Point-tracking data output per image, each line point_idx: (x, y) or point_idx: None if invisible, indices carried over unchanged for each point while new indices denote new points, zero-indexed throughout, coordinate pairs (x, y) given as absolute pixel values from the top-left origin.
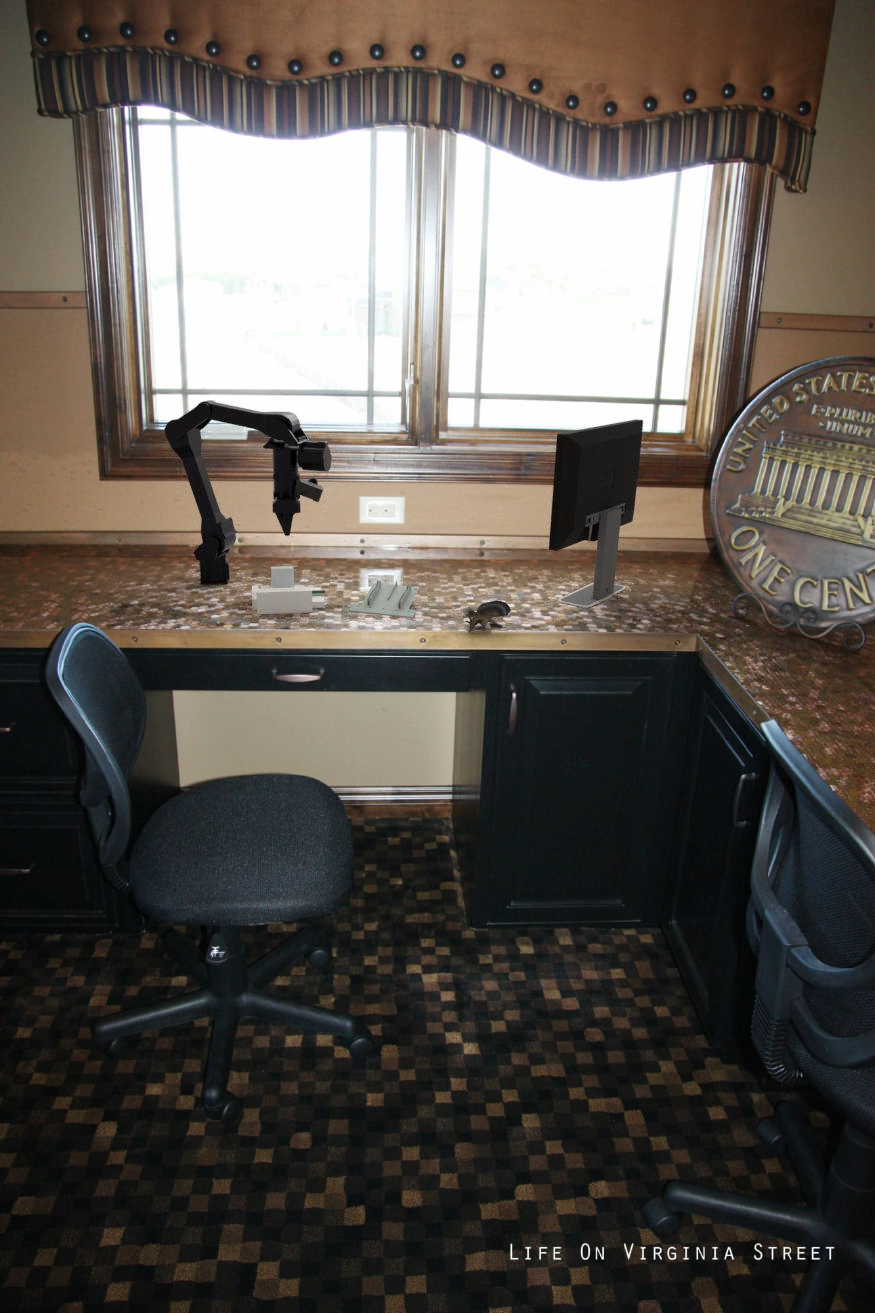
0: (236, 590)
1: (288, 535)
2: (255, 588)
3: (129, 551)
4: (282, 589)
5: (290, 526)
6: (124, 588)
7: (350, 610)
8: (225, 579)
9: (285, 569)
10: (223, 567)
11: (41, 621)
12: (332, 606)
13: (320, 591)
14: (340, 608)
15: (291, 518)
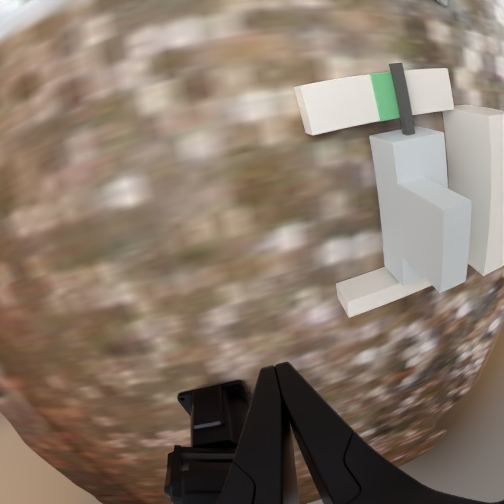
0: (288, 347)
1: (291, 366)
2: (379, 298)
3: (103, 491)
4: (501, 204)
5: (332, 412)
6: None
7: (446, 2)
8: (226, 392)
9: (468, 231)
10: (231, 420)
11: (420, 447)
12: (419, 45)
13: (404, 79)
14: (430, 24)
15: (390, 469)
